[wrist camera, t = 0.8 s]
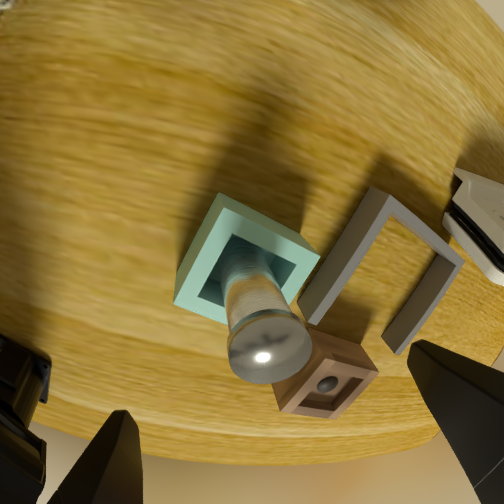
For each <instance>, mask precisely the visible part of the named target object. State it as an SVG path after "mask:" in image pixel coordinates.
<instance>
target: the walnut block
mask: <svg viewBox="0 0 504 504" xmlns="http://www.w3.org/2000/svg"><path fill="white" fill-rule="evenodd" d="M307 331H308V333H309V335H310V337H311V340H312V352H311V355H310V358H309V359H308V361H307V363H306V364H305V365H304V366H303V367H302V369H300V370H299V371H298V372H297V373H295V374H294V375H292V376H291V377H289V378H287V379H285V380H282V381H279V382H275V383H271V384H272V387H273V390H274V394H275V397H276V400H277V403H278V406H279V410H280V412H285V413H291V414H298V415H304V416H312V417H319V418H328V419H337V418H338V417H339V416H340V415H341V414H342V413H343V412H344V411H345V410H346V409H347V408H348V407H349V406H350V404H351V403H352V402H353V401H354V400H355V399H356V398H357V397H358V396H359V395H360V394H361V393H362V392H363V390H364V389H365V388H366V387H367V386H368V385H369V384H370V383H371V381H372V380H373V379H374V378H375V377H376V376H377V375H378V373H379V371H378V369H377V368H376V366H375V365H374V364H373V362H372V361H371V359H370V358H369V356H368V355H367V354H366V352H365V351H364V349H363V348H362V346H361V345H360V344H356V343H353V342H350V341H347V340H344V339H341V338H338V337H335V336H332V335H329V334H326V333H323V332H321V331H318V330H315V329H312V328H309V327H308V329H307Z"/></svg>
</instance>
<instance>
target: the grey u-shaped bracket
mask: <svg viewBox="0 0 504 504" xmlns="http://www.w3.org/2000/svg"><path fill="white" fill-rule="evenodd" d="M389 215H391V216H392V217H393V218H395V219H396V220H397V221H398V222H400V223H401V224H402V225H404V226H405V227H406V228H407V229H409V230H410V231H411V232H412V233H414V234H415V235H416V236H417V237H419V238H420V239H421V240H422V241H424V242H425V243H426V244H427V245H428V246H430V247H431V248H432V249H433V250H434V251H435V252H437V253H438V255H437V256H436V258H435V260H434V261H433V263H432V265H431V266H430V268H429V269H428V271H427V272H426V274H425V276H424V277H423V279H422V280H421V282H420V283H419V285H418V286H417V288H416V289H415V291H414V292H413V294H412V295H411V297H410V298H409V299H408V301H407V302H406V304H405V305H404V307H403V308H402V309H401V311H400V312H399V313H398V315H397V316H396V318H395V319H394V320H393V322H392V323H391V324H390V326H389V327H388V328H387V330H386V331H385V332H384V334H383V335H382V336H381V337H382V339H383V340H384V341H385V342H386V344H387V345H388V346H389V347H390V349H391V350H392V351H393V353H394V354H397V355H400V354H401V353H402V351H403V350H404V349H405V348H406V346H407V345H408V344H409V343H410V341H411V340H412V339H413V337H414V336H415V335H416V334H417V332H418V331H419V330H420V328H421V327H422V326H423V324H424V323H425V321H426V320H427V319H428V317H429V316H430V315H431V313H432V312H433V310H434V309H435V307H436V306H437V305H438V303H439V302H440V300H441V299H442V297H443V296H444V294H445V293H446V291H447V290H448V288H449V286H450V285H451V283H452V282H453V280H454V279H455V277H456V275H457V274H458V272H459V271H460V269H461V267H462V266H463V264H464V262H465V261H464V260H463V259H462V258H461V257H460V256H459V255H458V254H457V253H456V252H455V251H454V250H453V249H452V248H451V247H450V246H449V245H448V244H447V243H446V242H445V241H443V240H442V239H441V238H440V237H439V236H438V235H437V234H436V233H435V232H434V231H433V230H431V229H430V228H429V227H428V226H427V225H426V224H425V223H423V222H422V221H421V220H420V219H419V218H418V217H417V216H415V215H414V214H413V213H412V212H411V211H410V210H408V209H407V208H406V207H405V206H404V205H402V204H401V203H400V202H399V201H397V200H396V199H395V198H394V197H393V196H391V195H390V194H388V193H385V192H383V191H380V190H378V189H375V188H373V187H371V186H370V188H369V189H368V191H367V193H366V194H365V196H364V198H363V199H362V201H361V203H360V205H359V206H358V208H357V210H356V211H355V213H354V214H353V216H352V218H351V219H350V221H349V223H348V224H347V226H346V228H345V229H344V231H343V232H342V234H341V236H340V237H339V239H338V240H337V242H336V244H335V245H334V247H333V248H332V250H331V251H330V253H329V255H328V256H327V258H326V259H325V261H324V262H323V264H322V265H321V267H320V269H319V270H318V272H317V273H316V275H315V276H314V278H313V279H312V281H311V282H310V284H309V285H308V287H307V288H306V290H305V291H304V293H303V294H302V296H301V297H300V299H299V300H298V301H297V304H298V306H299V308H300V310H301V311H302V313H303V315H304V317H305V319H306V320H307V322H309V323H311V324H314V325H317V324H318V323H319V321H320V320H321V319H322V317H323V316H324V314H325V313H326V312H327V310H328V309H329V308H330V306H331V305H332V303H333V302H334V300H335V299H336V298H337V296H338V295H339V293H340V292H341V290H342V289H343V287H344V286H345V285H346V283H347V282H348V280H349V279H350V277H351V276H352V274H353V273H354V271H355V270H356V268H357V267H358V265H359V264H360V262H361V260H362V259H363V257H364V256H365V254H366V253H367V251H368V250H369V248H370V246H371V245H372V243H373V242H374V240H375V238H376V237H377V235H378V234H379V232H380V230H381V229H382V227H383V225H384V224H385V222H386V220H387V219H388V217H389Z"/></svg>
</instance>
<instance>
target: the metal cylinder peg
mask: <svg viewBox="0 0 504 504" xmlns="http://www.w3.org/2000/svg"><path fill="white" fill-rule="evenodd" d="M217 263H218V269H219V275H220V281H221V287H222V293H223V299H224V305H225V311H226V316H227V322H228V328H229V333H230V334H229V336H228V339H227V351H228V357H229V363H230V366H231V369H232V370H233V372H234V373H235V374H236V375H237V376H238V377H240V378H241V379H243V380H245V381H248V382H251V383H256V384H270V383H275V382H279V381H282V380H285V379H287V378H289V377H291V376H292V375H294V374H295V373H297V372H298V371H299V370H300V369H302V367H303V366H304V365H305V364H306V363H307V361H308V359H309V358H310V355H311V352H312V340H311V337H310V335H309V333H308V331H307V329H306V328H305V326H304V324H303V322H302V321H301V319H300V318H299V317H298V316H296V315H295V314H294V313H292V311H291V309H290V307H289V305H288V303H287V301H286V299H285V297H284V295H283V293H282V291H281V289H280V287H279V285H278V283H277V281H276V279H275V277H274V275H273V273H272V271H271V269H270V268H269V266H268V264H267V262H266V260H265V258H264V256H263V254H262V252H261V250H260V248H259V246H257V245H255V244H253V243H251V242H249V241H247V240H245V239H243V238H241V237H238V238H233V239H231V240H229V241H228V242H227V244H226V245H225V247H224V249H223V251H222V252H221V254H220V256H219V258H218V260H217Z"/></svg>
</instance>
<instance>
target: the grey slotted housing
mask: <svg viewBox="0 0 504 504" xmlns="http://www.w3.org/2000/svg"><path fill="white" fill-rule="evenodd" d="M453 173H454V174H455V175H456V176H458V177H459V178H460V179H461V180H462V181H463V183H462V184H461V186H460V187H459V189H458V190H457V192H456V194H455V195H454V197H453V198H452V200H453V201H454V202H455V204H454V207H455V208H456V209H457V210H458V211H459V212H457V211H452V210H451V212H450V213H447V212H445V214H444V217H443V220H442V225H443V226H444V227H445V228H446V230H447V231H448V232H449V233H450V234H451V235H452V236H453V237H454V238H455V240H456V241H457V242H458V243H459V244H460V245H461V246H462V248H463V249H464V250H465V251H466V252H467V253H468V255H469V256H470V257H471V258H472V259H473V261H474V262H475V263H476V264H477V266H478V267H479V268H480V269H481V271H482V272H483V273H484V274H485V276H486V277H487V278H488V279H489V280H491V281H492V282H494V283H496V284H499V285H502V286H504V185H503V184H500V183H498V182H495V181H493V180H490V179H487V178H485V177H482V176H479V175H477V174H474V173H471V172H468V171H465V170H462V169H459V168H456V167H455V169H454V172H453Z"/></svg>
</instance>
